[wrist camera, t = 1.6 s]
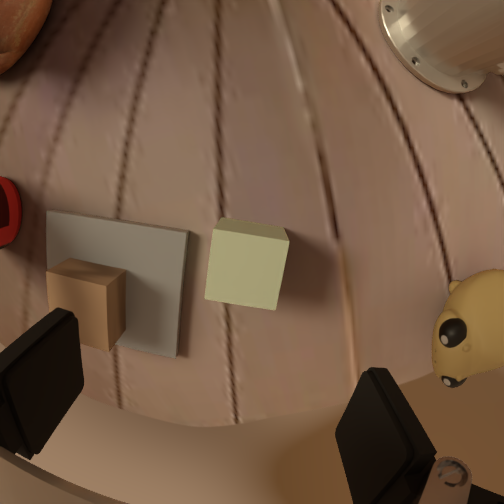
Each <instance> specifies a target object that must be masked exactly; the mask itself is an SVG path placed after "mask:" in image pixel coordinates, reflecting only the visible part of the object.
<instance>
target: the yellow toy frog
mask: <svg viewBox="0 0 504 504" xmlns="http://www.w3.org/2000/svg"><path fill="white" fill-rule="evenodd" d="M449 291H450V296H449V297H448V299H447V301H446V304H445V306H444V309H443V312H442V313H441V314H440V316H439V317H438V319H437V321H436V323H435V326H434V330H433V337H432V364H433V368H434V371H435V374H436V375H437V376H438V377H439V378H441V379H442V381H443V383H444V384H445V385H446V386H448V387H451V388H454V387H458V386H460V385H462V384H463V383H464V382H465V380H466V379H467V377H468V376H470V375H474V374H478V373H483V372H487V371H491V370H494V369H497V368H500V367H503V366H504V270H497V269H492V270H485V271H482V272H479V273H476V274H474V275H472V276H470V277H469V278H467V279H465V280H464V281H463V282H461V281H458V280H455V281H452V282H451V283H450V285H449Z"/></svg>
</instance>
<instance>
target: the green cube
mask: <svg viewBox="0 0 504 504" xmlns="http://www.w3.org/2000/svg"><path fill="white" fill-rule="evenodd" d="M289 242H290V241H289V239H288V237H287V234H286V232H285V230H284V227H278V226H272V225H267V224H261V223H255V222H248V221H242V220H236V219H230V218H223V217H222V218H221V219H220V220H219V222H218V223H217V225H216V226H215V227H214V229H213V235H212V242H211V250H210V257H209V265H208V273H207V281H206V290H205V298H204V299H207V300H213V301H219V302H225V303H231V304H237V305H243V306H249V307H256V308H263V309H269V310H276V305H277V301H278V296H279V291H280V286H281V282H282V277H283V272H284V267H285V262H286V257H287V252H288V247H289Z"/></svg>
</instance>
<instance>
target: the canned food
mask: <svg viewBox="0 0 504 504" xmlns="http://www.w3.org/2000/svg"><path fill="white" fill-rule="evenodd" d="M21 219H22V206H21V200H20V196H19V193H18V190H17V188H16V187H15V185H14V184H13V183H12V182H11V181H10V180H9V179H7V178H4V177H1V176H0V249H1V248H4V247H6V246H7V245H9V244H10V243H11V242H12V241H13V240H14V239H15V237H16V235H17V234H18V231H19V229H20V225H21Z"/></svg>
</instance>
